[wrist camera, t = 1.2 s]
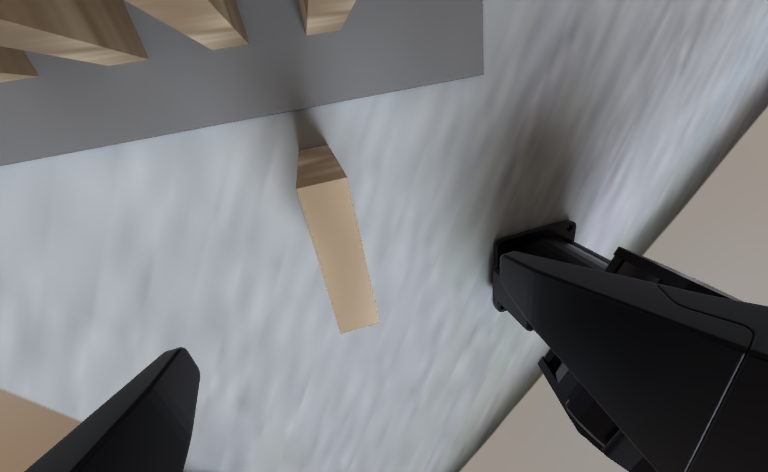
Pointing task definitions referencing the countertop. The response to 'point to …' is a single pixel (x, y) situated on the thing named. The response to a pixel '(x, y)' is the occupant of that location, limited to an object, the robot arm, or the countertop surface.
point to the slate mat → (236, 74)
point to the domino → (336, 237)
